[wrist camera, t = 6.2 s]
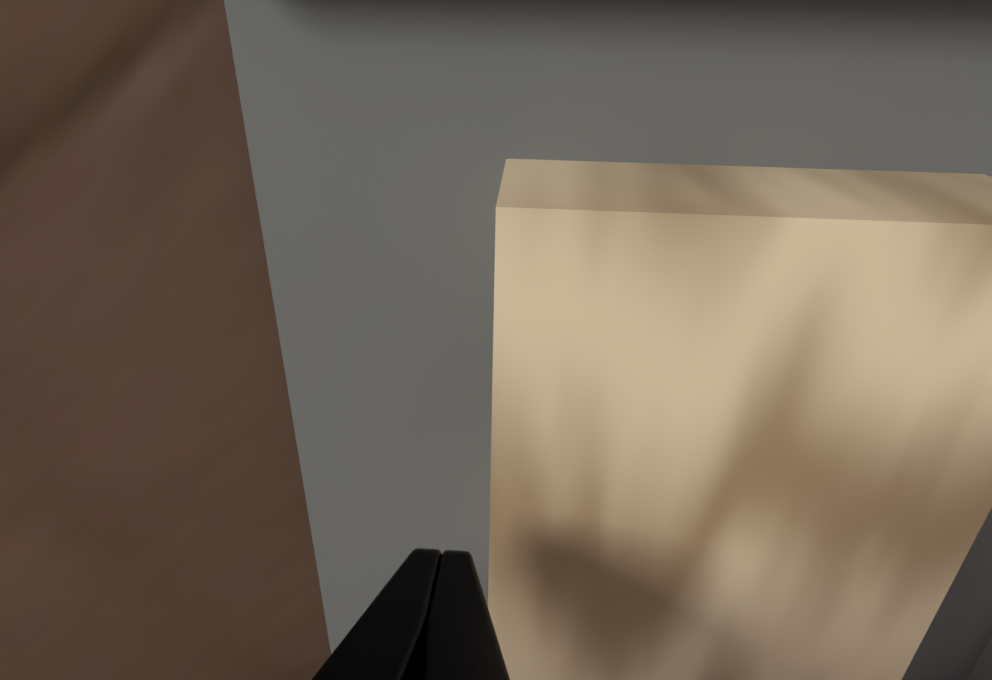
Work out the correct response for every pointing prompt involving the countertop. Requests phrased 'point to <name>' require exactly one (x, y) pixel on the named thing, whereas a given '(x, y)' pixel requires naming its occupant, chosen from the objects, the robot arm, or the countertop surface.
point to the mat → (473, 197)
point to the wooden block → (734, 417)
